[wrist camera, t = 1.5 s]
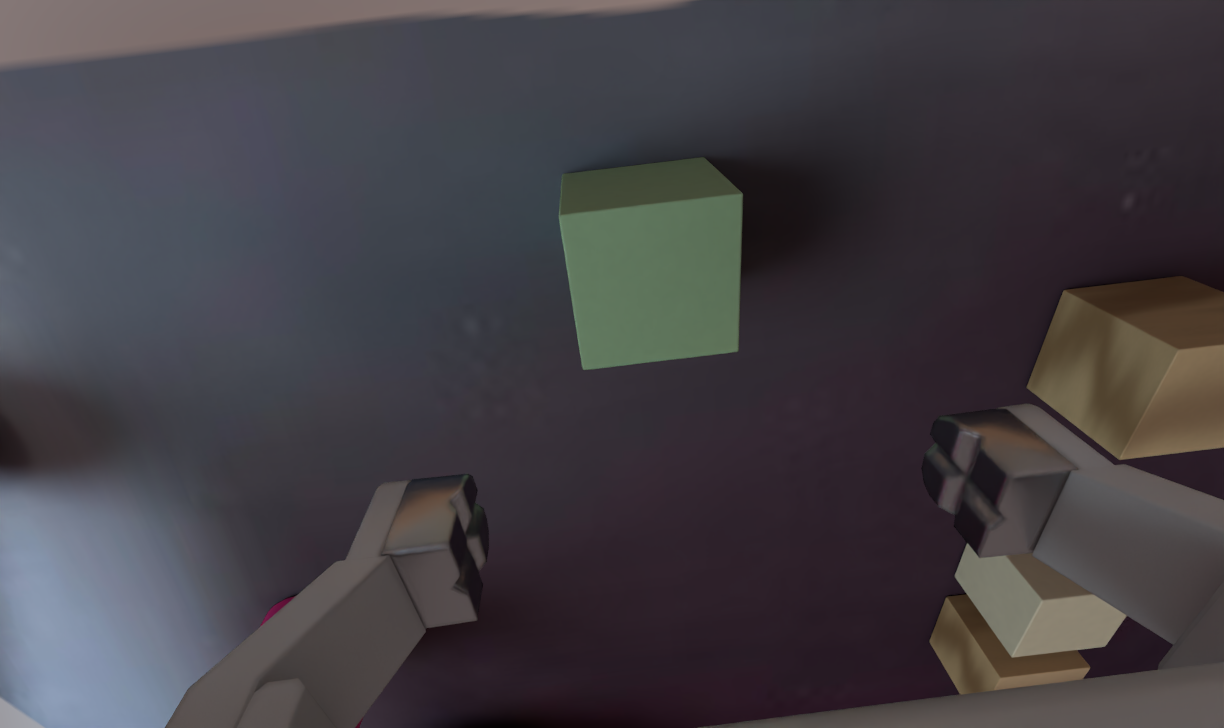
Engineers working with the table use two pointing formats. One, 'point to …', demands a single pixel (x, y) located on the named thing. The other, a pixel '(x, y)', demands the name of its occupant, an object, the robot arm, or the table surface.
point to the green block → (652, 261)
